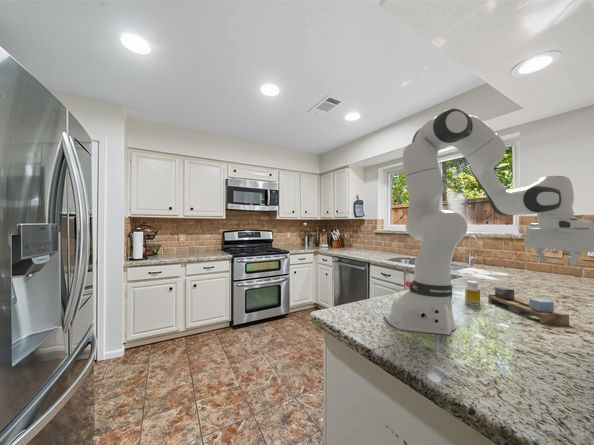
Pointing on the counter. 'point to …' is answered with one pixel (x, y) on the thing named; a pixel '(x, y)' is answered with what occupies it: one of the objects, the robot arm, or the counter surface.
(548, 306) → the block
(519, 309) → the beam
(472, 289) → the supplement bottle
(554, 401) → the counter surface
